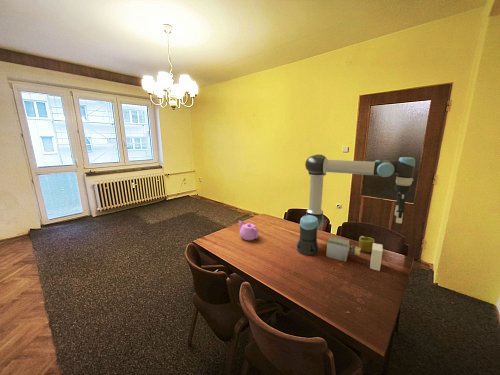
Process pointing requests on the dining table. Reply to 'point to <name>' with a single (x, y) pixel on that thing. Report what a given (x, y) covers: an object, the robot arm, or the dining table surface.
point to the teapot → (248, 231)
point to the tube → (354, 250)
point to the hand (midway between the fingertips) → (397, 219)
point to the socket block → (376, 256)
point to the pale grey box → (337, 248)
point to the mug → (366, 243)
